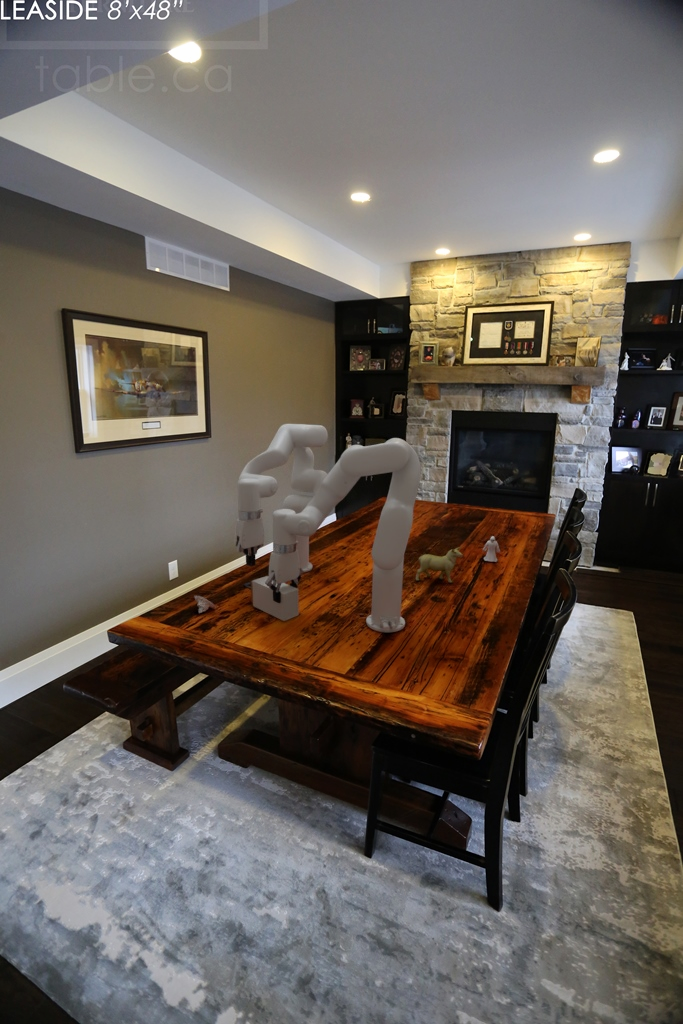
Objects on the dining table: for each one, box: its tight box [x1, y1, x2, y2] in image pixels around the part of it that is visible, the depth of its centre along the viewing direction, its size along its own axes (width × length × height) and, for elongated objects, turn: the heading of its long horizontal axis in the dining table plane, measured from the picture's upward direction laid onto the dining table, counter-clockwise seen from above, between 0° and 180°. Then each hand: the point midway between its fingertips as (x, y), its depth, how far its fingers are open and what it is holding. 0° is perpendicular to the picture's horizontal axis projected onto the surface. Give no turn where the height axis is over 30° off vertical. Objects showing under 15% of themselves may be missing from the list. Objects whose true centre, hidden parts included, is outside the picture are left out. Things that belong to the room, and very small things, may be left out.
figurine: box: [482, 535, 501, 563], centre depth 223 cm, size 8×8×12 cm
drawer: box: [242, 580, 253, 603], centre depth 173 cm, size 21×5×8 cm, turn 47°
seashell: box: [193, 595, 217, 614], centre depth 168 cm, size 8×5×8 cm
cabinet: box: [251, 575, 300, 622], centre depth 170 cm, size 17×6×9 cm, turn 47°
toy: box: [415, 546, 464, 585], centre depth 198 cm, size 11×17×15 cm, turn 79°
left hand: (250, 564), depth 176 cm, fingers closed
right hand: (285, 598), depth 166 cm, fingers closed on cabinet, 6 cm apart
